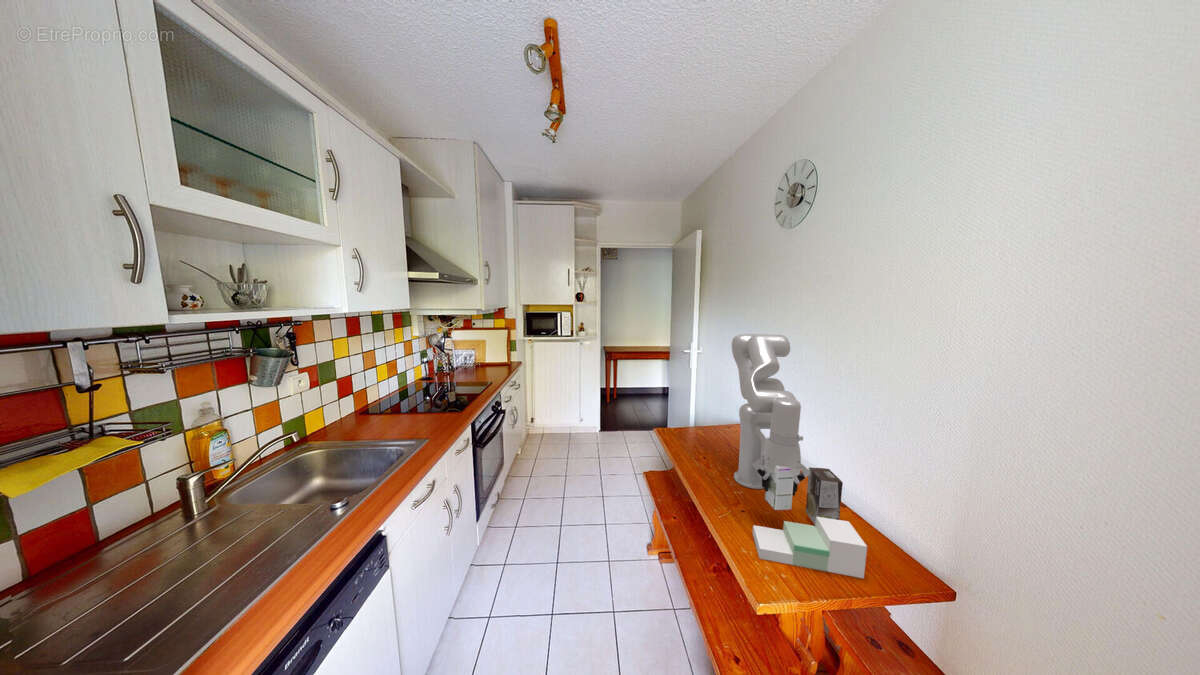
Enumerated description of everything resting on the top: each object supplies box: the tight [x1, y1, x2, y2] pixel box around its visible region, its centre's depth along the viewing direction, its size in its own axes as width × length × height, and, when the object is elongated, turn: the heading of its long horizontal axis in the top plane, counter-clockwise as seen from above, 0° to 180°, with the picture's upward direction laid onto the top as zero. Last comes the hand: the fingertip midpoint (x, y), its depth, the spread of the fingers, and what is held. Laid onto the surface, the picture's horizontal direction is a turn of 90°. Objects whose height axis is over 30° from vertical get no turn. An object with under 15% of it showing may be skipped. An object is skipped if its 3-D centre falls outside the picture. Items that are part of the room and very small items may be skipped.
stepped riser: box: [752, 517, 868, 579], centre depth 93 cm, size 10×25×9 cm, turn 75°
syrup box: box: [764, 465, 794, 511], centre depth 103 cm, size 6×6×14 cm
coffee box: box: [805, 467, 844, 525], centre depth 107 cm, size 9×6×16 cm
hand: (778, 490), depth 104 cm, fingers closed on syrup box, 7 cm apart
